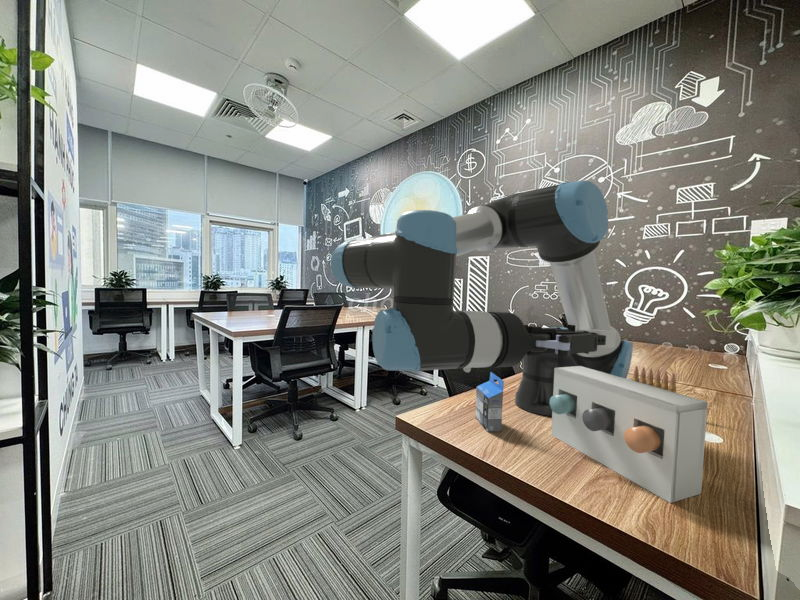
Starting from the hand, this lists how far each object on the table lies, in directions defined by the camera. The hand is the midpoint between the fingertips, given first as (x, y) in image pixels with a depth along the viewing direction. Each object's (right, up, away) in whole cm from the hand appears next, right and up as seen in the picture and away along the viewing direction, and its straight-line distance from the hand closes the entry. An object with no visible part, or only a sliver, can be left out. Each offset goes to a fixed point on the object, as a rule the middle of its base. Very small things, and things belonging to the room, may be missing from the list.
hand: (610, 338), depth 52 cm
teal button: (+2, -19, +20) cm, 27 cm away
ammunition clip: (+40, -26, +43) cm, 64 cm away
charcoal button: (+5, -19, +12) cm, 23 cm away
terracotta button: (+8, -20, +4) cm, 21 cm away
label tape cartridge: (-12, -25, +29) cm, 41 cm away
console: (+10, -26, +14) cm, 31 cm away
